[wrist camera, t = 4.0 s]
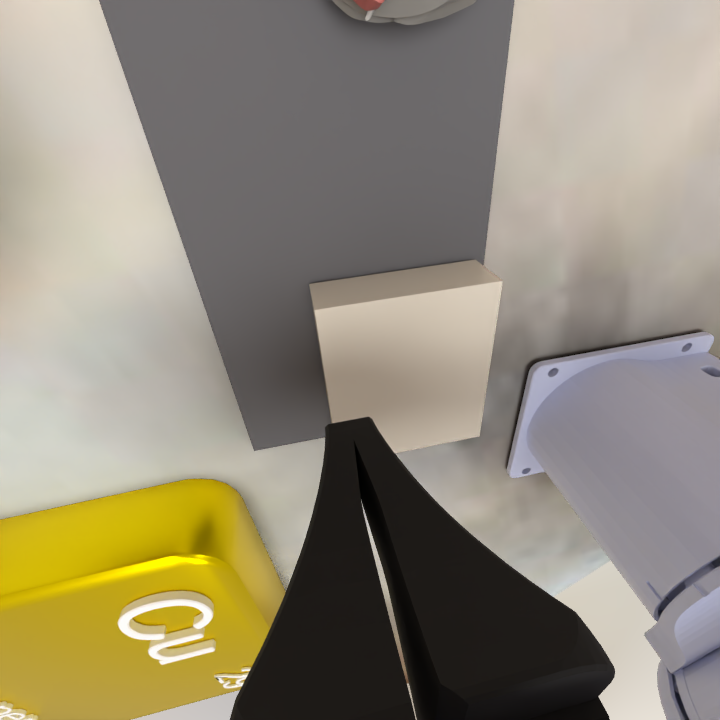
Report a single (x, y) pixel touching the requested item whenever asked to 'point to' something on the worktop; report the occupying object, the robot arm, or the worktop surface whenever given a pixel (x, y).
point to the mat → (310, 164)
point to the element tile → (132, 603)
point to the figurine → (401, 10)
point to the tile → (409, 350)
